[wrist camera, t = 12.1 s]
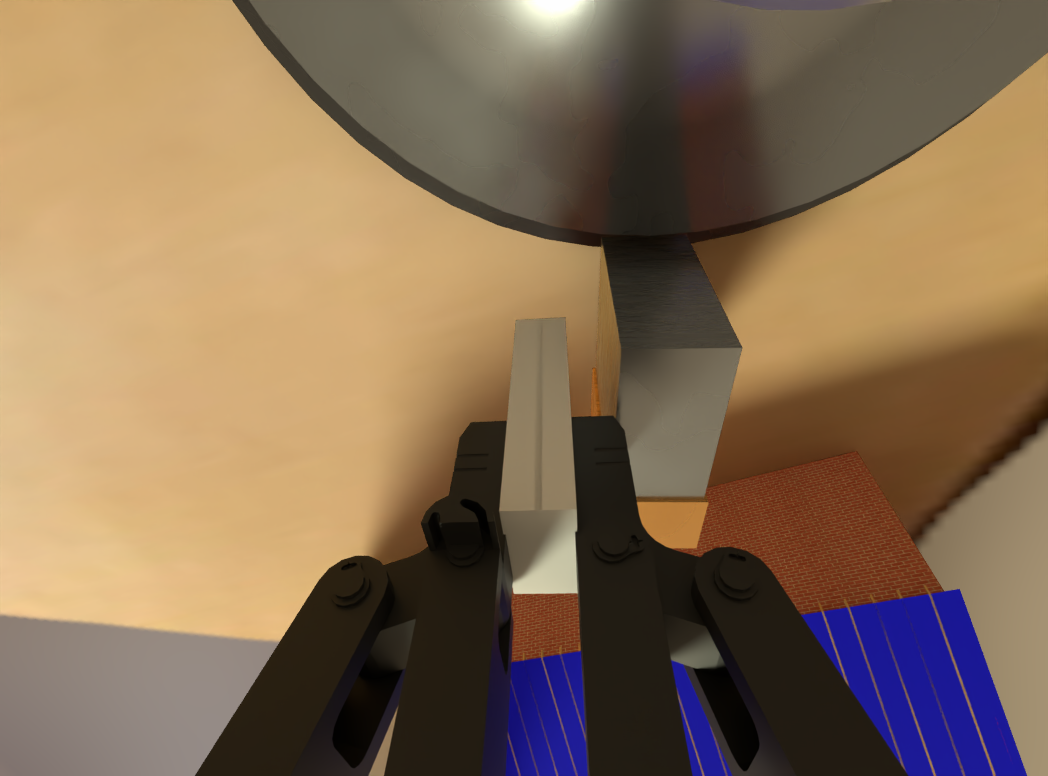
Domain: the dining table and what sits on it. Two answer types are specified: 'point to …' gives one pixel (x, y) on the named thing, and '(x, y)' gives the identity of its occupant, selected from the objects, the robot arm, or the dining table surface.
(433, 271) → the dining table surface
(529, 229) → the turntable base
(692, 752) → the house
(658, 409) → the turntable
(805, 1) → the cover
